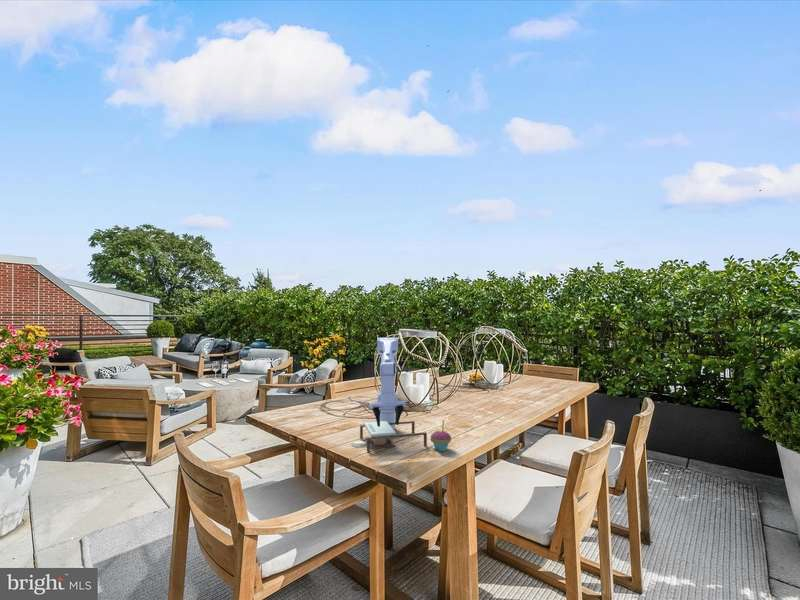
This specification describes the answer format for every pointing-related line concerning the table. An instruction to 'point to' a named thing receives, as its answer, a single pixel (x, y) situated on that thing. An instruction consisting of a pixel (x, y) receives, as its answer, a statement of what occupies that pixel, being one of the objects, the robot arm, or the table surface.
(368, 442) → the puzzle board
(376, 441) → the block
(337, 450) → the table surface
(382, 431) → the slide cover
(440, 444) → the cupcake
